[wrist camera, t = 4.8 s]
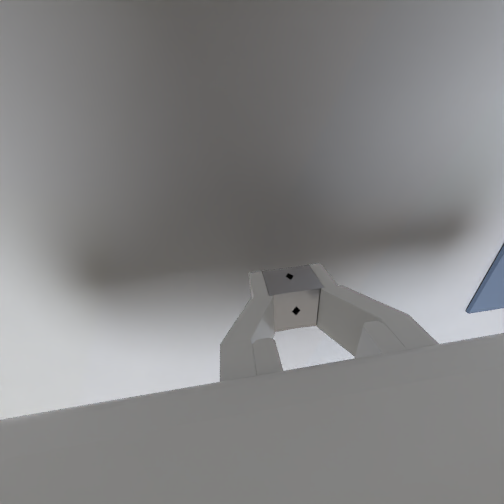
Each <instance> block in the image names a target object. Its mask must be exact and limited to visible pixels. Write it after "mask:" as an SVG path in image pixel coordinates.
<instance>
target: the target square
mask: <svg viewBox="0 0 504 504" xmlns="http://www.w3.org/2000/svg"><path fill="white" fill-rule="evenodd" d="M500 308H504V246H503V247H502V249H501V251H500V253H499V254H498V256H497V258H496V260H495V261H494V263H493V265H492V266H491V268H490V270H489V272H488V273H487V275H486V277H485V279H484V280H483V282H482V284H481V286H480V287H479V289H478V291H477V293H476V294H475V296H474V298H473V300H472V301H471V303H470V305H469V307H468V308H467V310H466V312H467V313H475V312H481V311H488V310H494V309H500Z"/></svg>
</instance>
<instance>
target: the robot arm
mask: <svg viewBox="0 0 504 504" xmlns="http://www.w3.org/2000/svg"><path fill="white" fill-rule="evenodd" d="M249 281H250V291H251V299H250V300H249V302H248V303H247V305H246V306H245V308H244V309H243V311H242V312H241V314H240V315H239V317H238V318H237V320H236V321H235V323H234V324H233V326H232V327H231V329H230V330H229V332H228V333H227V335H226V336H225V338H224V339H223V341H222V342H221V344H220V382H216V383H210V384H204V385H199V386H193V387H187V388H181V389H175V390H169V391H164V392H158V393H152V394H146V395H140V396H135V397H129V398H123V399H117V400H111V401H106V402H100V403H94V404H88V405H82V406H77V407H71V408H65V409H59V410H53V411H48V412H42V413H36V414H30V415H24V416H19V417H13V418H7V419H1V420H0V504H504V333H501V334H495V335H489V336H483V337H477V338H472V339H466V340H460V341H454V342H448V343H443V344H439V343H438V342H437V341H435V340H434V339H433V338H432V337H431V336H430V335H429V334H428V333H427V332H426V331H425V330H424V329H423V328H422V327H421V326H420V325H419V324H418V323H417V322H416V321H415V320H414V319H413V318H412V317H411V316H410V315H408V314H406V313H404V312H401V311H399V310H397V309H395V308H392V307H390V306H388V305H385V304H383V303H381V302H379V301H376V300H374V299H372V298H370V297H367V296H365V295H363V294H361V293H358V292H356V291H354V290H351V289H349V288H347V287H345V286H338V284H337V283H336V282H335V281H334V279H333V278H332V277H331V276H330V274H329V273H328V272H327V271H326V269H325V268H324V267H323V266H322V264H320V263H315V264H310V265H305V266H298V267H291V268H282V269H273V270H265V271H256V272H249ZM316 325H317V327H318V328H319V329H321V330H322V331H323V332H324V333H326V334H327V335H328V336H329V337H331V338H332V339H333V340H334V341H336V342H337V343H338V344H339V345H341V346H342V347H343V348H345V349H346V350H347V351H348V352H350V353H351V354H352V355H353V356H355V359H350V360H344V361H338V362H332V363H326V364H321V365H315V366H309V367H303V368H297V369H292V370H286V371H283V368H282V364H281V361H280V357H279V354H278V350H277V346H276V343H275V340H273V337H274V334H275V332H277V331H283V330H288V329H294V328H301V327H308V326H316Z"/></svg>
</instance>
